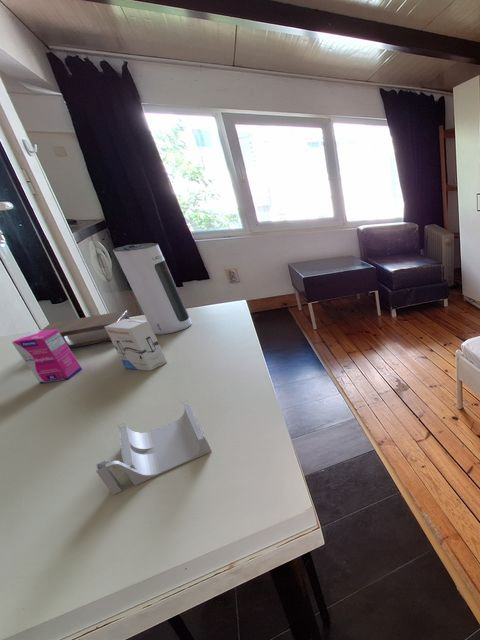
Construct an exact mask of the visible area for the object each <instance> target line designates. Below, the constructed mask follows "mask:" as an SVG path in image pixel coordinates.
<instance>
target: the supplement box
mask: <svg viewBox="0 0 480 640" xmlns="http://www.w3.org/2000/svg"><path fill="white" fill-rule="evenodd" d="M11 344H12V345H13V346H14V348H15V350H16V351H17V352H18V353H19V355H20V357H21V358H22V359H23V361H24V362H25V364H26V365H27V366H28V368H29V369H30V371H31V373H32V374H33V375H34V377H35V378H36V380H37V381H38V382H39V384H46V383H51V382H52V383H53V382H60V381H67V380H70V379H71V378H72V377H74V376H75V375H77V373H79V372H80V371H81V370H83V368H82V367H81V364H80V363H79V361H78V360H77V358H76V357H75V355H74V354H73V352H72V350H71V348H69V347H68V345H67V344H66V342H65V341H64V339H63V337H62V336H61V334H60V332H59V331H58V329H55V330H46V331H41V330H39V331H38V330H37V331H30V332H27V333H26V334H24V335H22V336H21V337H19V338H17V339H15V340H13V341H11Z"/></svg>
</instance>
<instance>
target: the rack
mask: <svg viewBox="0 0 480 640" xmlns="http://www.w3.org/2000/svg"><path fill="white" fill-rule="evenodd" d="M123 319H131V318H130V316H129V311H128V310H122V311H116V312H110V313H104V314H98V315H91V316H85V317H79V318H74V319H68V320H61V321H54V322H50V323H49V324H48V325H46V326H45V327H44V328H42V329H41V330H40V331H46V330H55V329H58V331H59V332H60V334H61V336H62V337H63V339H64V341H65V342H66V344H67V345H68V347H69V349H71V348H76V347H81V346H86V345H92V344H96V343H97V344H98V343H101V342H107V341H111V339H110V337H109V335H108V333H107V331H106V329H105V326H108V325H110V324H113V323H115V322H118V321H120V320H123Z"/></svg>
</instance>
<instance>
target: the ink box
mask: <svg viewBox="0 0 480 640" xmlns="http://www.w3.org/2000/svg"><path fill="white" fill-rule="evenodd" d="M105 329H106V331H107V333H108V335H109V337H110V339H111V340H110V341H111V342H112V344H113V346H114V348H115V350H116V352H117V354H118V356H119V358H120V361H121V362H122V365H123V366H124V368H125V369H130V370H140V371H149V372H151V371H153V370H155V369H157V368H158V367H160V366H162V365H164V364H167V363H168V360H167V358H166V356H165V354H164V352H163V350H162V348H161V345H160V344H159V341H158V339H157V336H156V334H155V333H154V332H153V330H152V328H151V326H150V324H149V322H148V321H147V320H142V319H141V320H140V319H131V318H130V319H123V320H120V321H118V322H115V323H113V324H110V325H108V326H105Z"/></svg>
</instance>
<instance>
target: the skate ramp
mask: <svg viewBox="0 0 480 640" xmlns="http://www.w3.org/2000/svg"><path fill="white" fill-rule="evenodd" d="M182 406H183V407H184V412H183V414H182V415H181V417H179V418H178V419H177V420H175V421H172V422H169V423H167V424H165V425H162V426H159V427H156V428H154V429H152V430H149V431H144V432H138V431H133V430H132V429H130V428H129V427H128V425H125V423H123V425H122V423H120V424H117V427H118V435H119V442H120V443H119V444H120V451H121V459H122V461H120V460H111V461H106V460H103V461H100V462H99V463H96V464H95V471H96V474H97V475H98V476H99V478H100V479H101V481H102V482H103V483H104V485H105V486H106V489H108V491H109V492H110V494H111V495H112V496H115V495H116V494H118V493H121V492H122V489H121V488H120V487H119V486H121V485H122V484H121V482H120V481H119V479H118V478H117V476H116V475H115V473H114V472H113V470H112V468H116V469H121V471H124V472H125V473H126V475H127V476H128V477H129V479H130V481H131V482H132V484H133V485H134V486H138V485H140V484H142V483H145V482H146V481H148V480H150V479H153V478H155V477H158V476H160V475H162V474H165V473H166V472H168V471H171V470H173V469H175V468H177V467H180V466H182V465H184V464H187V463H189V462H191V461H194V460H196V459H197V458H200V457H202V456H204V455H207V454H209V453H211V452H212V448H211V447H210V445H209V442H208V440H207V438H206V436H205V434H204V431H203V429H202V427H201V425H200V423H199V421H198V418H197V416H196V414H195V412H194V410H193V408H192V406H191V403H190V402H188V401H184V403H182Z"/></svg>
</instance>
